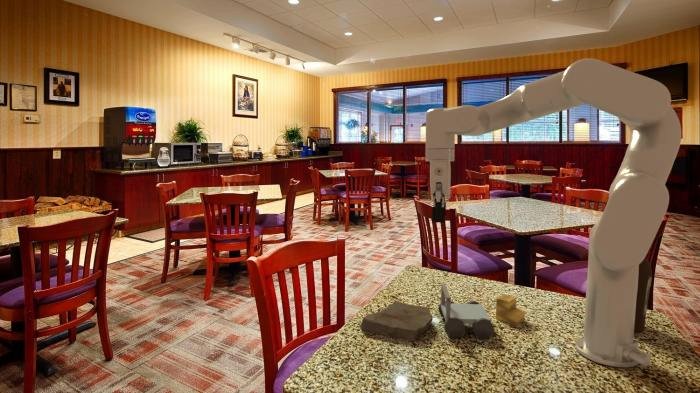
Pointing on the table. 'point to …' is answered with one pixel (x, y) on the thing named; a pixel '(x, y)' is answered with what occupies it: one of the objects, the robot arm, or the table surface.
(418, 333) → the marble piece
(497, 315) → the orange block
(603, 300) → the robot arm
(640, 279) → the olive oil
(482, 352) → the table surface
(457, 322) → the trolley
